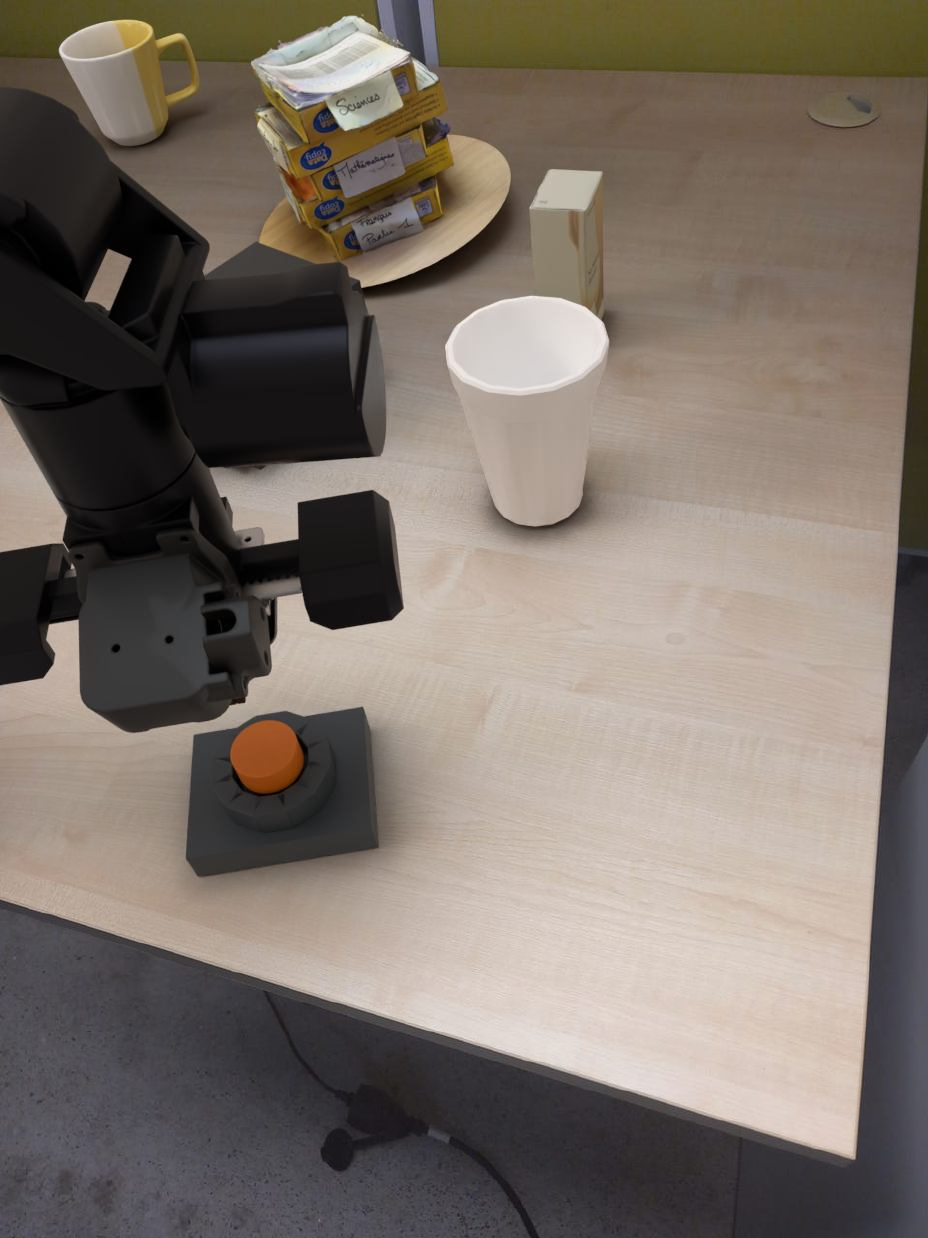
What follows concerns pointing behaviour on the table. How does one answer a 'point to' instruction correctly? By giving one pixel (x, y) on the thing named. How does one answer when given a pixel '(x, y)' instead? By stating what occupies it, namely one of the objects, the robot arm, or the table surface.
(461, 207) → the stack of yellow boxes
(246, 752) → the button
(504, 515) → the cup
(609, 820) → the table surface
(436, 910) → the table surface
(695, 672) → the table surface
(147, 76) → the mug
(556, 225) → the cosmetic box
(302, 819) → the control block
